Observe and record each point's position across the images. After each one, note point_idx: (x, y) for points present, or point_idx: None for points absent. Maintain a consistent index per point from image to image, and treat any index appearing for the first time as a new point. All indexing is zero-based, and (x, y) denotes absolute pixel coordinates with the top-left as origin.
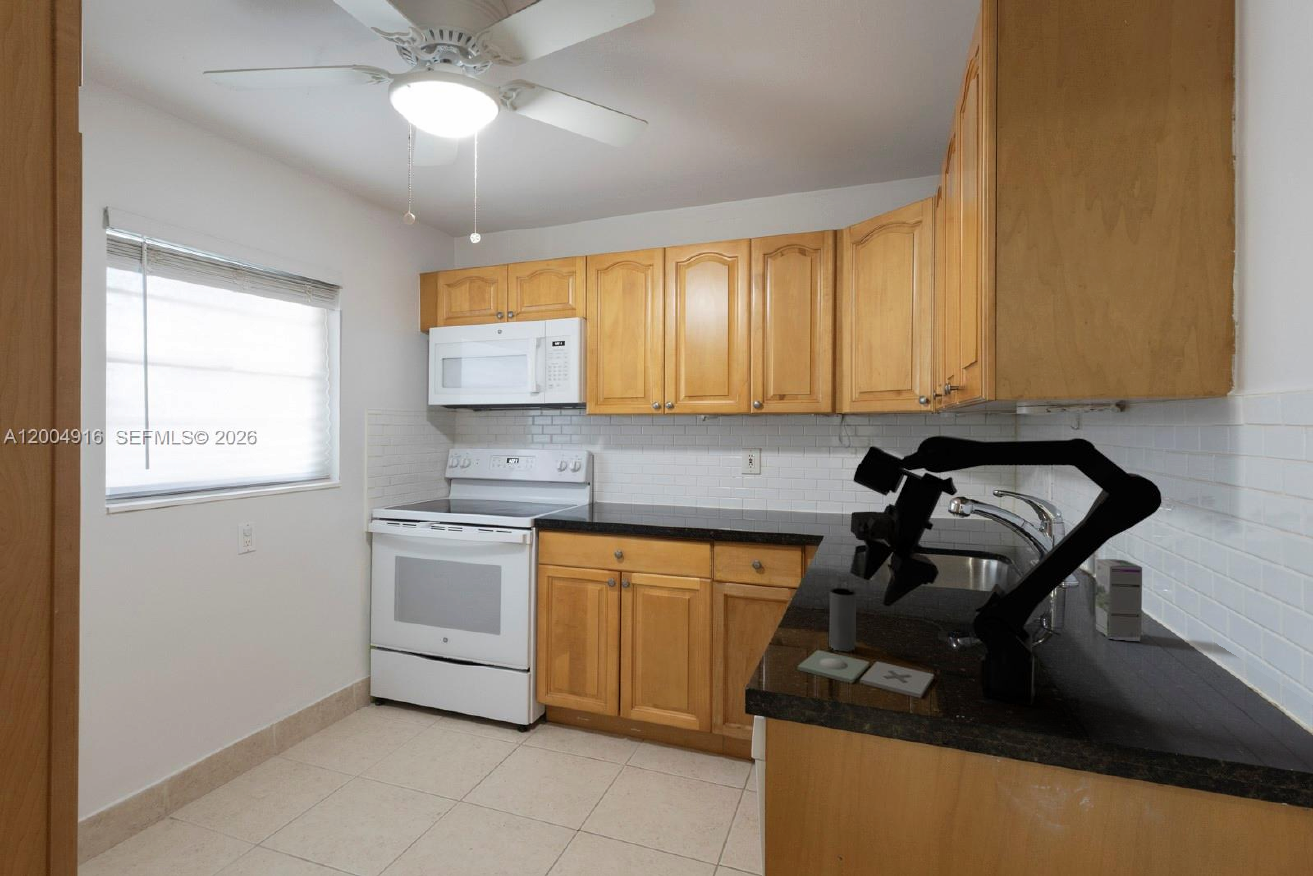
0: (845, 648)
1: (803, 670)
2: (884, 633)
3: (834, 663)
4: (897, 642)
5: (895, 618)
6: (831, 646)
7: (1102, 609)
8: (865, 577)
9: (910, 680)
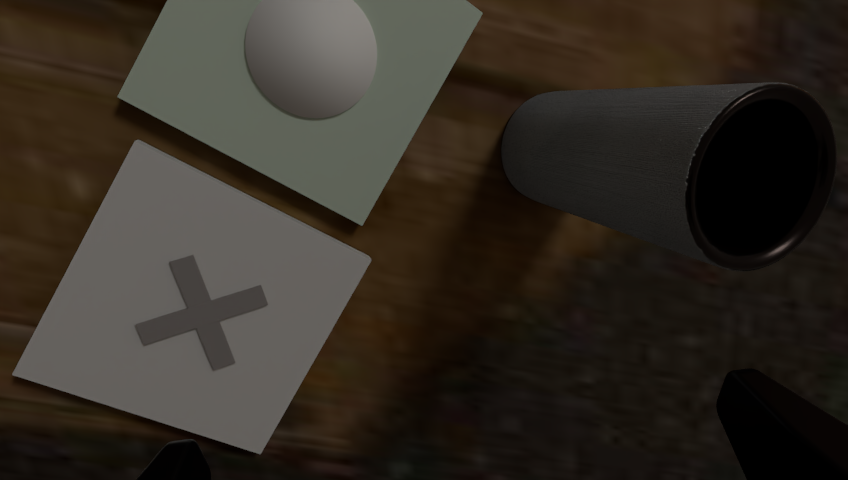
0: (507, 152)
1: None
2: (688, 342)
3: (313, 55)
4: (604, 373)
5: (814, 401)
6: (538, 95)
7: None
8: (736, 394)
9: (171, 359)
